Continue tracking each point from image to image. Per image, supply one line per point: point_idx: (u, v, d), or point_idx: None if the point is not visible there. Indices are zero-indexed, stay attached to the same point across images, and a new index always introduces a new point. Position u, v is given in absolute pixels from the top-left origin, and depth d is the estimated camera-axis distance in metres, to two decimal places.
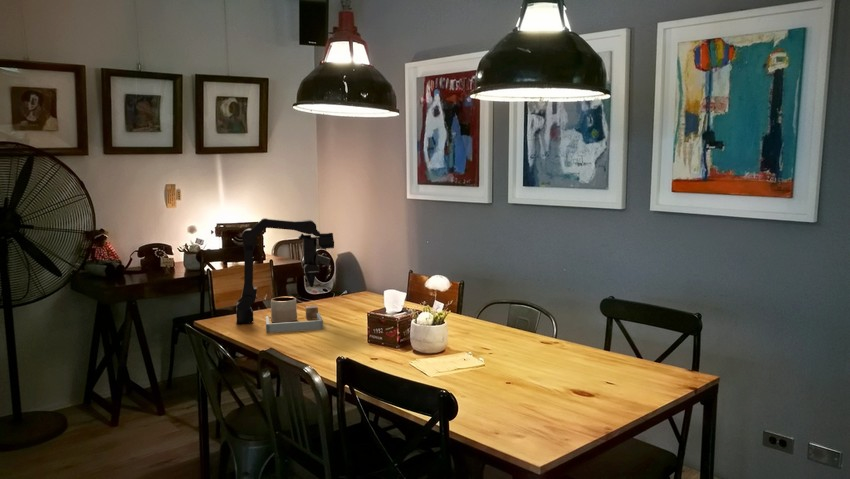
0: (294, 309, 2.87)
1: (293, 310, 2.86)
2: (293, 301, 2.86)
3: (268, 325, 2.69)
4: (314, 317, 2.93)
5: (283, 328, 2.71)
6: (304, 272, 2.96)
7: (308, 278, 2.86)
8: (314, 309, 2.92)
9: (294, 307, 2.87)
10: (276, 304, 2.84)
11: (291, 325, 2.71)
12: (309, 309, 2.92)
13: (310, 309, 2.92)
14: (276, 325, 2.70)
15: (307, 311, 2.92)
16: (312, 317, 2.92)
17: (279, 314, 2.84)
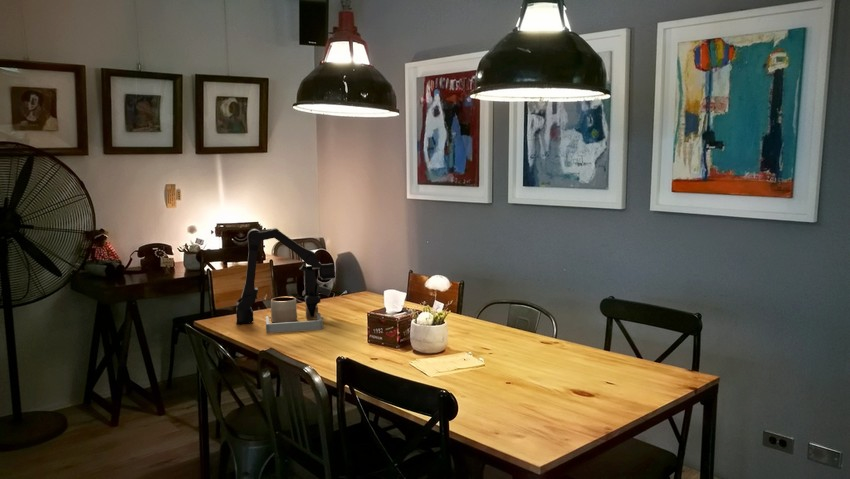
0: (294, 309, 2.87)
1: (293, 310, 2.86)
2: (293, 301, 2.86)
3: (268, 325, 2.69)
4: (314, 317, 2.93)
5: (283, 328, 2.71)
6: None
7: (309, 308, 2.90)
8: None
9: (294, 307, 2.87)
10: (276, 304, 2.84)
11: (291, 325, 2.71)
12: None
13: None
14: (276, 325, 2.70)
15: (307, 311, 2.92)
16: (312, 317, 2.92)
17: (279, 314, 2.84)
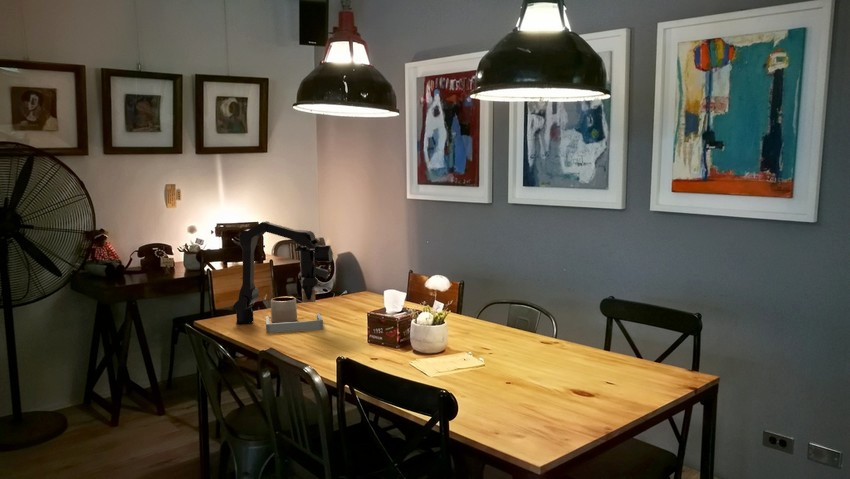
0: (294, 309, 2.87)
1: (293, 310, 2.86)
2: (293, 301, 2.86)
3: (268, 325, 2.69)
4: (311, 300, 2.79)
5: (283, 328, 2.71)
6: None
7: (305, 291, 2.77)
8: None
9: (294, 307, 2.87)
10: (276, 304, 2.84)
11: (291, 325, 2.71)
12: None
13: None
14: (276, 325, 2.70)
15: (304, 294, 2.78)
16: (309, 300, 2.79)
17: (279, 314, 2.84)
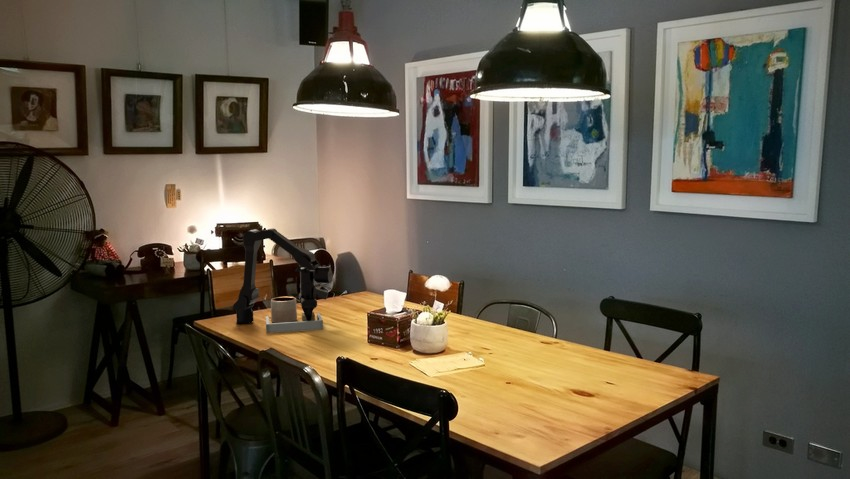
0: (294, 309, 2.87)
1: (293, 310, 2.86)
2: (293, 301, 2.86)
3: (268, 325, 2.69)
4: None
5: (283, 328, 2.71)
6: None
7: (305, 313, 2.75)
8: None
9: (294, 307, 2.87)
10: (276, 304, 2.84)
11: (291, 325, 2.71)
12: (305, 316, 2.78)
13: None
14: (276, 325, 2.70)
15: (303, 318, 2.78)
16: None
17: (279, 314, 2.84)
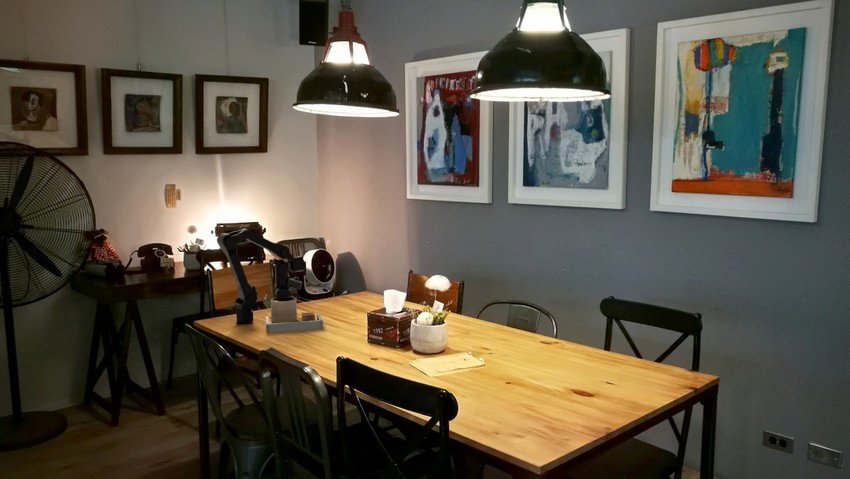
0: (294, 309, 2.87)
1: (293, 310, 2.86)
2: (293, 301, 2.86)
3: (268, 325, 2.69)
4: None
5: (283, 328, 2.71)
6: None
7: None
8: (311, 316, 2.79)
9: (294, 307, 2.87)
10: (276, 303, 2.84)
11: (291, 325, 2.71)
12: (306, 316, 2.78)
13: (307, 316, 2.78)
14: (276, 325, 2.70)
15: (303, 318, 2.78)
16: None
17: (279, 314, 2.84)
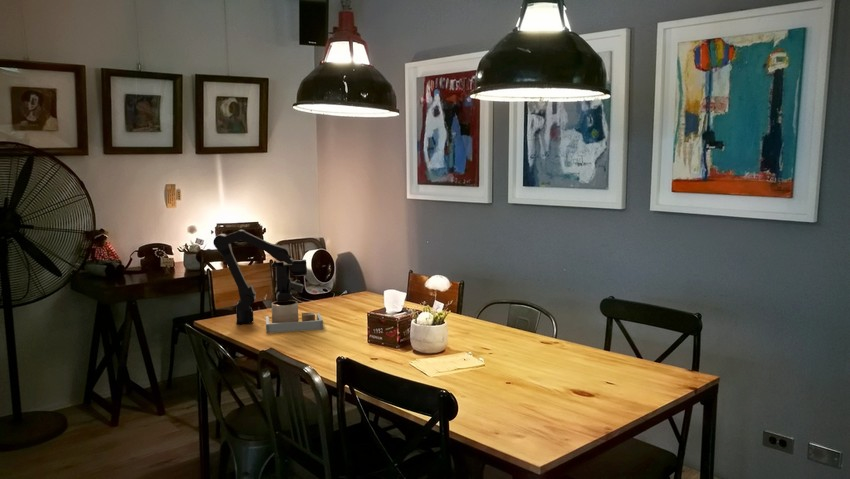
0: (296, 313, 2.79)
1: (295, 314, 2.78)
2: (295, 305, 2.78)
3: (268, 325, 2.69)
4: None
5: (283, 328, 2.71)
6: None
7: None
8: (311, 316, 2.79)
9: (296, 311, 2.79)
10: (277, 307, 2.76)
11: (291, 325, 2.71)
12: (305, 316, 2.78)
13: (307, 316, 2.78)
14: (276, 325, 2.70)
15: (303, 318, 2.78)
16: None
17: (280, 318, 2.76)
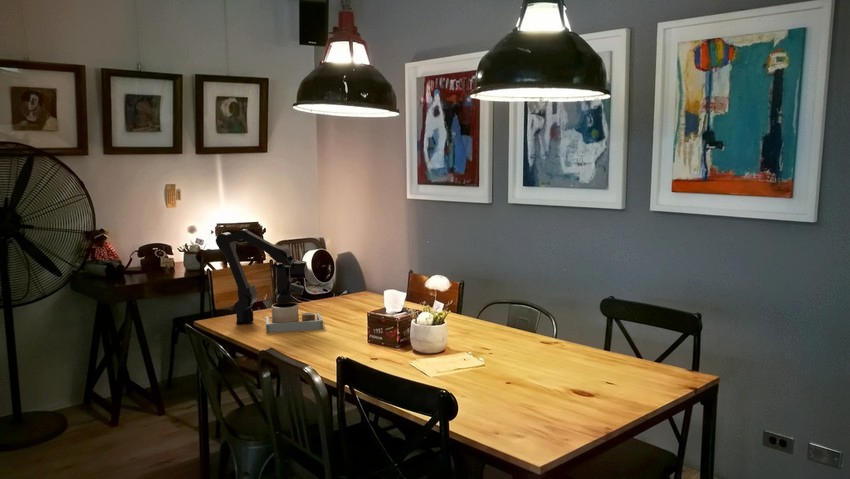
0: (296, 315, 2.75)
1: (295, 316, 2.74)
2: (295, 307, 2.74)
3: (268, 325, 2.69)
4: None
5: (283, 328, 2.71)
6: None
7: None
8: (311, 316, 2.79)
9: (296, 313, 2.75)
10: (277, 310, 2.72)
11: (291, 325, 2.71)
12: (305, 316, 2.78)
13: (307, 316, 2.78)
14: (276, 325, 2.70)
15: (303, 318, 2.78)
16: None
17: (280, 321, 2.72)
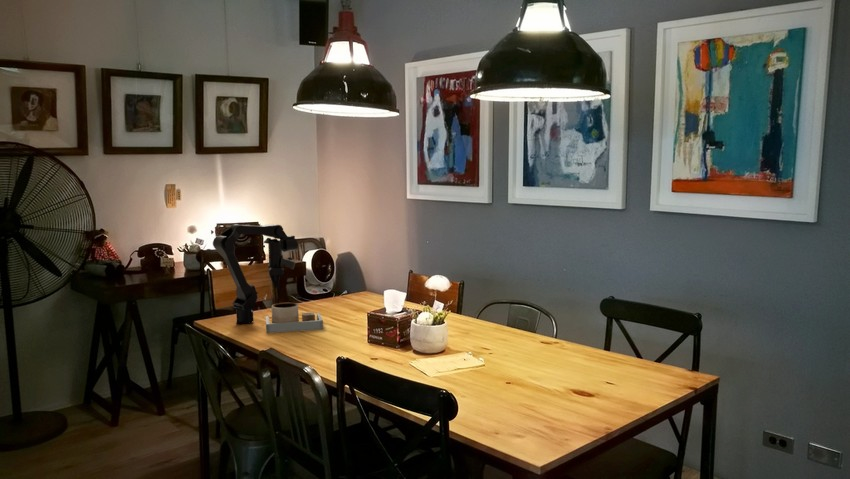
0: (296, 316, 2.75)
1: (295, 317, 2.74)
2: (295, 307, 2.74)
3: (268, 325, 2.69)
4: None
5: (283, 328, 2.71)
6: None
7: (273, 279, 2.95)
8: (311, 316, 2.79)
9: (296, 313, 2.75)
10: (277, 310, 2.72)
11: (291, 325, 2.71)
12: (305, 316, 2.78)
13: (307, 316, 2.78)
14: (276, 325, 2.70)
15: (303, 318, 2.78)
16: None
17: (280, 321, 2.72)
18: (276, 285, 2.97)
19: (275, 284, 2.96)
